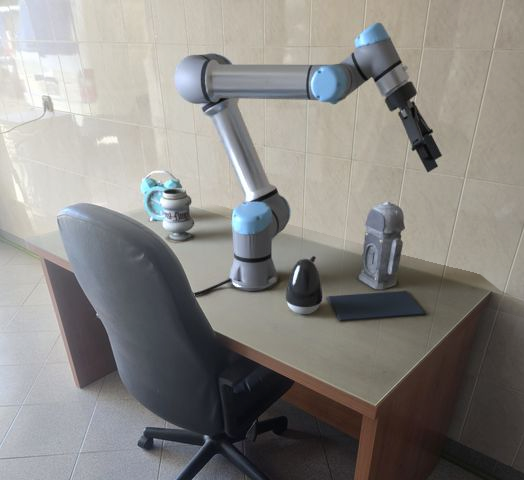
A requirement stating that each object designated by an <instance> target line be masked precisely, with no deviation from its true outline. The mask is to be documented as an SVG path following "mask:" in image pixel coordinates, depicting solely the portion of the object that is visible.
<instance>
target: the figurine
mask: <svg viewBox="0 0 524 480" xmlns="http://www.w3.org/2000/svg"><path fill="white" fill-rule="evenodd" d="M366 216H367V217H366V221H365V223H364V226H365V227H366V230H365V231H364V238H363V252H362V254H361V256H362V263H361V273H360V274H359V276H358V280H359V281H361V282H363V283H364V284H366V285H367V286H369V287H371V288H372V289H374V290H386V289H389V288H392V287H394V286H396V285H397V280H398V278H397V277H396V274H397V273H398V272H399V271H400V263H401V257H402V251H403V245H404V242H403V240H402V232H403V231H404V230H405V229H406V226H405V220H404V219H405V216H404V212H403V210H402V208H401V207H400V206H398V205H397V204H394V203H391V202H390V201H386V202H382V203H379V204H376V205H375V206H373V207H372V208H371V209H370V211H369V212H368V213H367V215H366Z"/></svg>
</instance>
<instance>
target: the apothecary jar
mask: <svg viewBox="0 0 524 480" xmlns="http://www.w3.org/2000/svg"><path fill="white" fill-rule="evenodd" d="M192 202H193V201H192V198H191V196H190V195H188V194H187V190H186V189H185V188H183V187H182V188H172V189H167V190H165V191H163V197H162V198H161V199H160V205H161V206H162V207H163V208H164V213H165V219H164V220H162V227H163V229H164V230H165V231H166V232H168V233H169V232H170V234H168V236H167V238H166V239H167V240H169V241H170V242H173V243H184V242H188V241H191V240H192V239H193V238H194V237H193V234H192V233H191V232H188V231H190V230H191V229H192V228H193V227H194V226H195V219H194V218H193V217H192V216H191V211H190V206H191V204H192Z"/></svg>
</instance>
